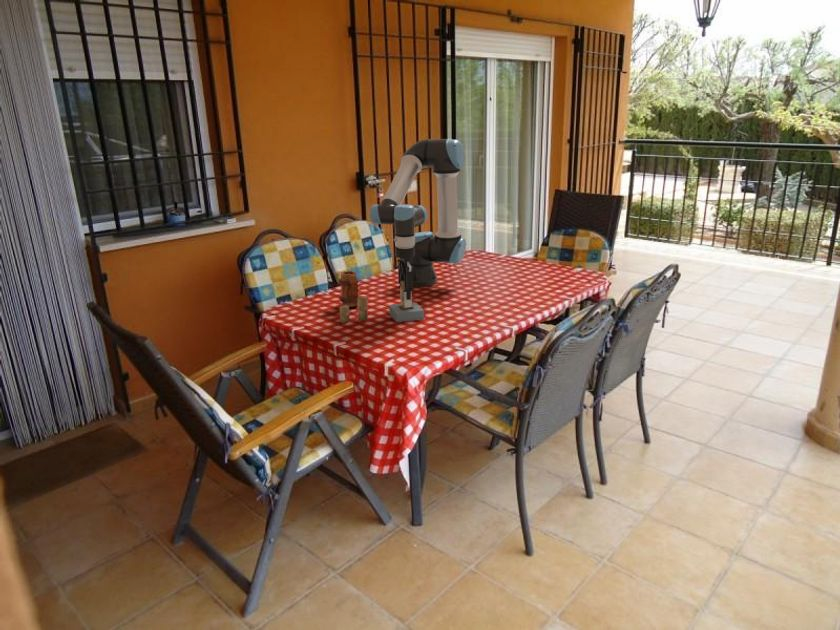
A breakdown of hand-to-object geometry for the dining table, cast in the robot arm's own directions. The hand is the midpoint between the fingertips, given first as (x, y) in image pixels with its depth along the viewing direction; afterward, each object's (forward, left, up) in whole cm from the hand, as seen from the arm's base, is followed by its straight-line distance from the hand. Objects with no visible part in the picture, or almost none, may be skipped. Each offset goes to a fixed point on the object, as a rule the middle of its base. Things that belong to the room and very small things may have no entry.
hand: (406, 304), depth 244 cm
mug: (+18, -18, -5) cm, 26 cm away
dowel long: (0, 0, -5) cm, 5 cm away
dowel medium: (+17, -2, -5) cm, 18 cm away
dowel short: (+24, -2, -5) cm, 25 cm away
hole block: (0, 0, -5) cm, 5 cm away
